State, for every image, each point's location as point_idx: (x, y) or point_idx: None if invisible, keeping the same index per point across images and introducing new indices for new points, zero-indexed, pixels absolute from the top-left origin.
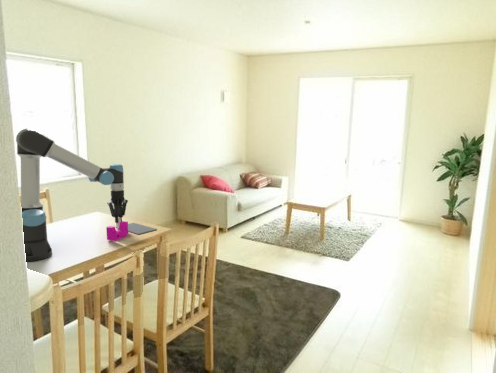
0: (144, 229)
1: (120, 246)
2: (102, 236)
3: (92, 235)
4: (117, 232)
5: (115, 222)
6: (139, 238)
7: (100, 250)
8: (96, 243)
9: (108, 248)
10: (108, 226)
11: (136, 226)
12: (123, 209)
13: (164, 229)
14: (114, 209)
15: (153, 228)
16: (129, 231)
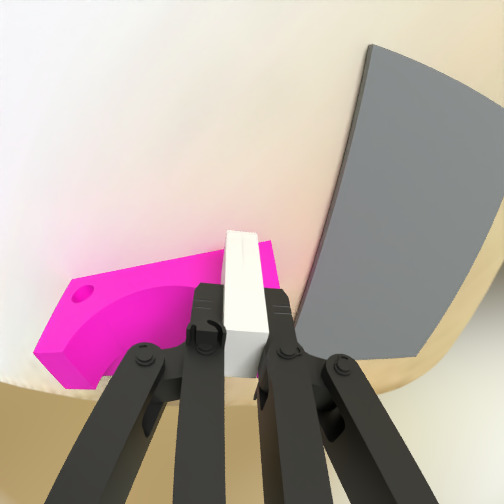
0: (392, 321)
1: (89, 392)
2: (76, 193)
3: (37, 97)
4: (111, 373)
5: (198, 287)
6: (228, 391)
7: (11, 361)
8: (5, 289)
9: (40, 372)
10: (51, 354)
11: (451, 221)
12: (343, 475)
13: (429, 364)
14: (173, 486)
15: (425, 338)
16: (312, 274)
